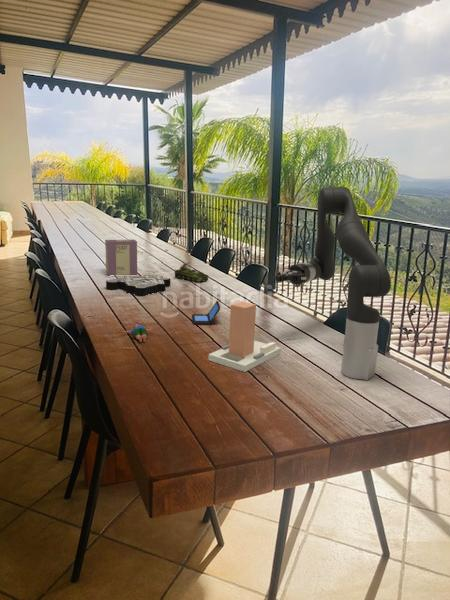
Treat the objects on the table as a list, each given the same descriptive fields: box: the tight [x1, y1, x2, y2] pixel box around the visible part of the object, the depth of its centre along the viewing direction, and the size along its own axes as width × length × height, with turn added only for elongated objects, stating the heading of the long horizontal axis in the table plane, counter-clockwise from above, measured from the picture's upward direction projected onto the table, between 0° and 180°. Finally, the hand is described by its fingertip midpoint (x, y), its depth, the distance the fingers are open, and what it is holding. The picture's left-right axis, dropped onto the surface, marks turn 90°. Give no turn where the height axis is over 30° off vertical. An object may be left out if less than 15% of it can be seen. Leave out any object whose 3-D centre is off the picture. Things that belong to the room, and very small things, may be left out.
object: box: [191, 300, 221, 326], centre depth 187 cm, size 12×11×7 cm
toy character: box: [120, 321, 155, 343], centre depth 165 cm, size 12×5×15 cm
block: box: [228, 301, 257, 358], centre depth 146 cm, size 6×6×16 cm
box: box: [104, 239, 138, 277], centre depth 269 cm, size 17×9×20 cm, turn 111°
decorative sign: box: [105, 274, 171, 297], centre depth 240 cm, size 28×4×30 cm
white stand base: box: [208, 340, 282, 373], centre depth 150 cm, size 14×21×4 cm, turn 143°
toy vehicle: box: [174, 262, 209, 283], centre depth 264 cm, size 9×20×10 cm, turn 52°
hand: (277, 278), depth 158 cm, fingers closed
